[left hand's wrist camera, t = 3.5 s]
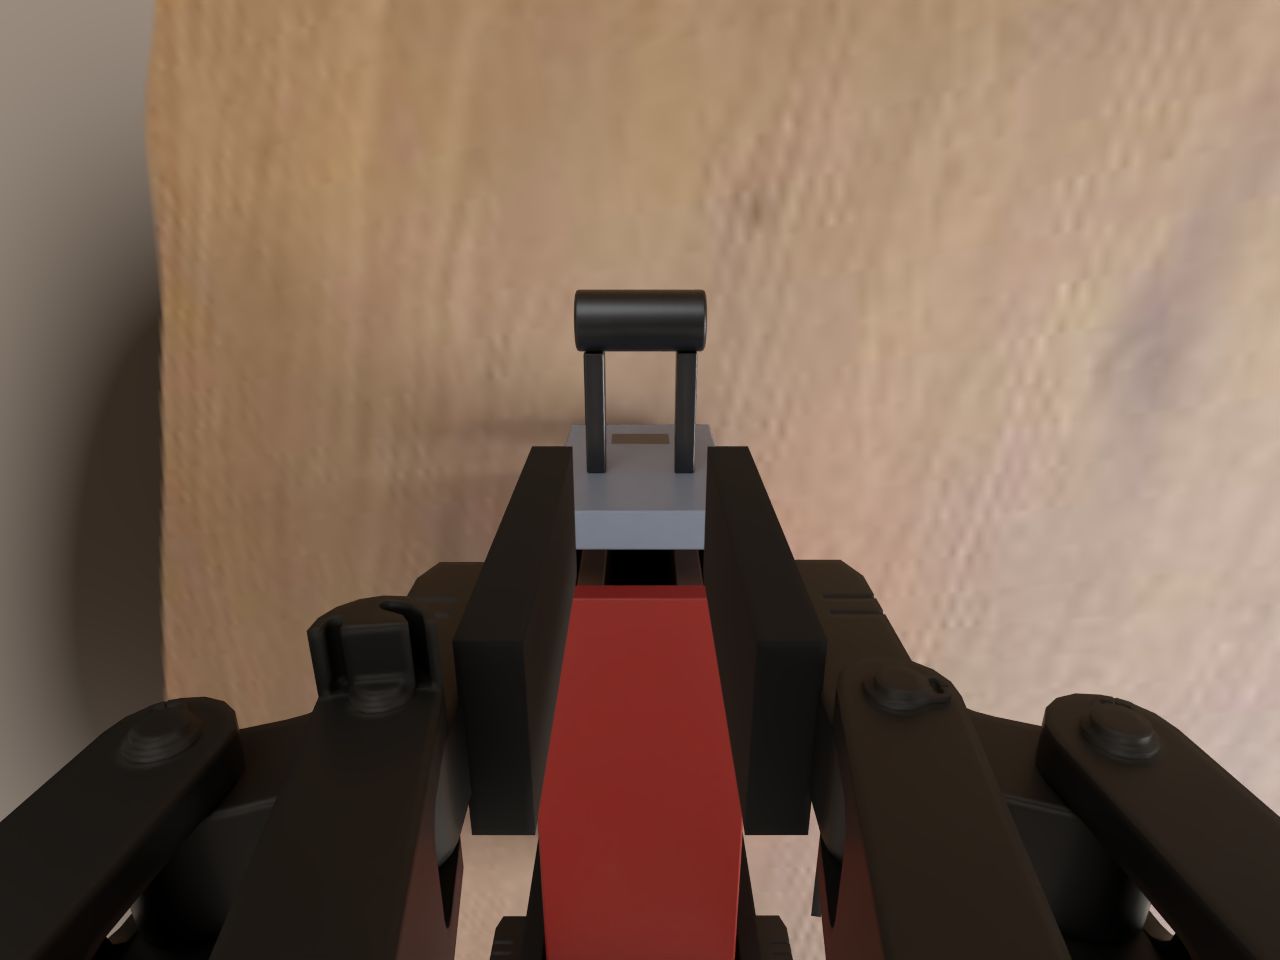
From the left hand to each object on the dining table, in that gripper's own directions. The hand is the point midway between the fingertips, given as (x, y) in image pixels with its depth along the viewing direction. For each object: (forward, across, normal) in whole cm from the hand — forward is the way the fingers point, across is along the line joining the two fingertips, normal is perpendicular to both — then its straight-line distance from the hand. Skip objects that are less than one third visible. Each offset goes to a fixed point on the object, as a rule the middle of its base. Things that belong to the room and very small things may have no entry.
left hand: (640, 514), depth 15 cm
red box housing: (+15, 0, -14) cm, 20 cm away
